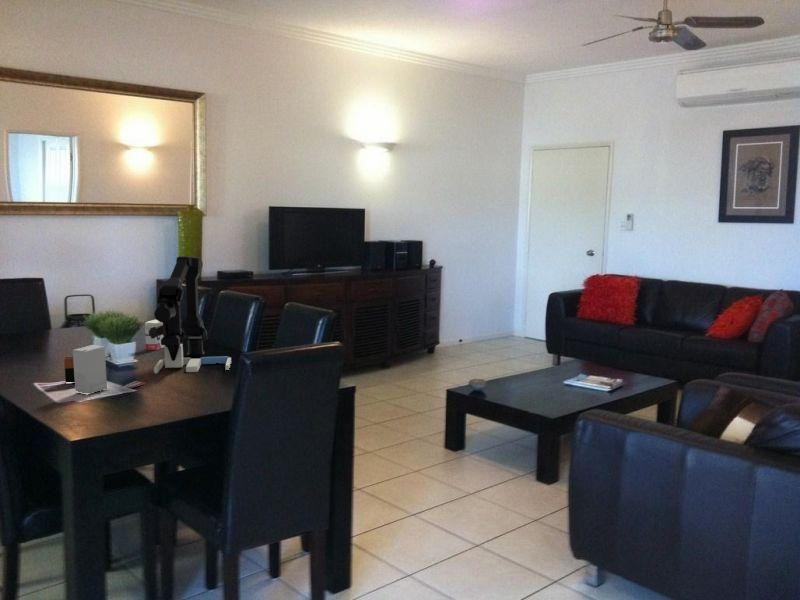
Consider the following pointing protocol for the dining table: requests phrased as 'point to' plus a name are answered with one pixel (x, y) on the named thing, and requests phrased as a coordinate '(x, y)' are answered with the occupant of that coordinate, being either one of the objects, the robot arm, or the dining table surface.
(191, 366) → the duct rack
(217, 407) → the dining table surface
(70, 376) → the battery
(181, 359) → the plug block
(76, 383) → the skincare box
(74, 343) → the dining table surface
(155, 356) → the dining table surface
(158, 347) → the ink box
